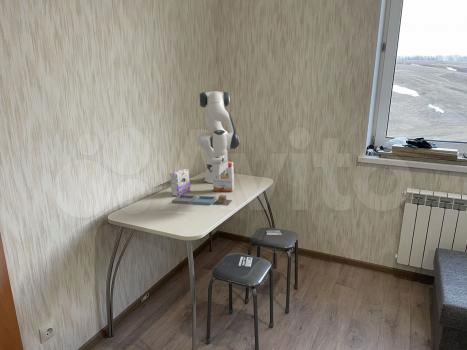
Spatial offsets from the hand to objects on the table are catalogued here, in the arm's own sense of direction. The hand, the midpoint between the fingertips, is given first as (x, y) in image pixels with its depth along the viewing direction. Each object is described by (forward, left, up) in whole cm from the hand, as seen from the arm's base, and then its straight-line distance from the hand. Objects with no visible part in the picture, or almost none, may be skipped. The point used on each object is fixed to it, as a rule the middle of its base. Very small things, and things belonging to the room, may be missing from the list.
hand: (221, 178), depth 218 cm
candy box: (-15, -35, -17) cm, 41 cm away
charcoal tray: (0, -26, -16) cm, 30 cm away
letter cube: (0, 0, -15) cm, 15 cm away
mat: (0, 0, -16) cm, 16 cm away
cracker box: (-26, -7, -17) cm, 31 cm away
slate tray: (0, -12, -16) cm, 20 cm away
